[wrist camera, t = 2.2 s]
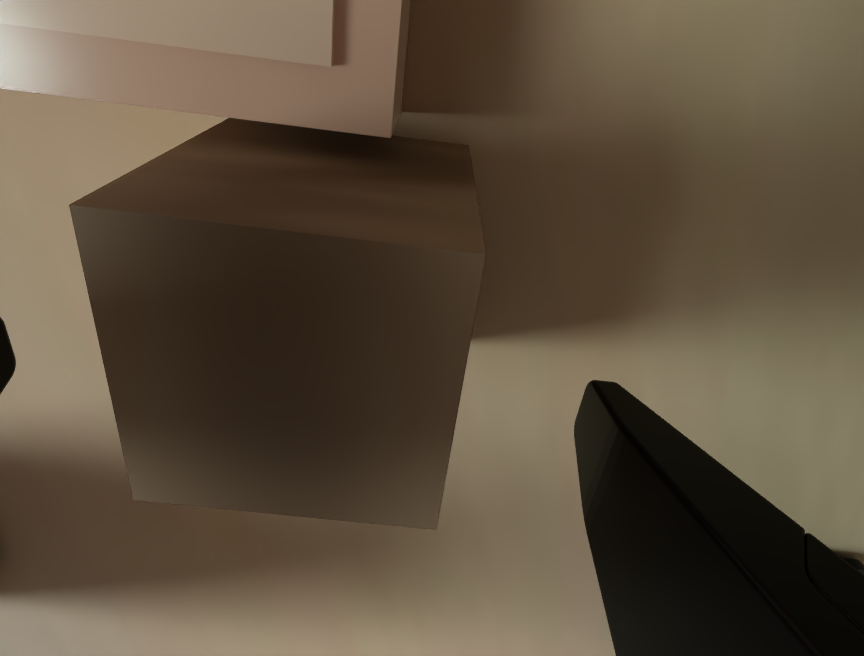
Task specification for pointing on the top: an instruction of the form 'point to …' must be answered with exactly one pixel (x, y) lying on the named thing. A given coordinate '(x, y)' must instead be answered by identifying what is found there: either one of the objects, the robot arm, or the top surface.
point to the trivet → (217, 57)
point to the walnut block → (287, 319)
